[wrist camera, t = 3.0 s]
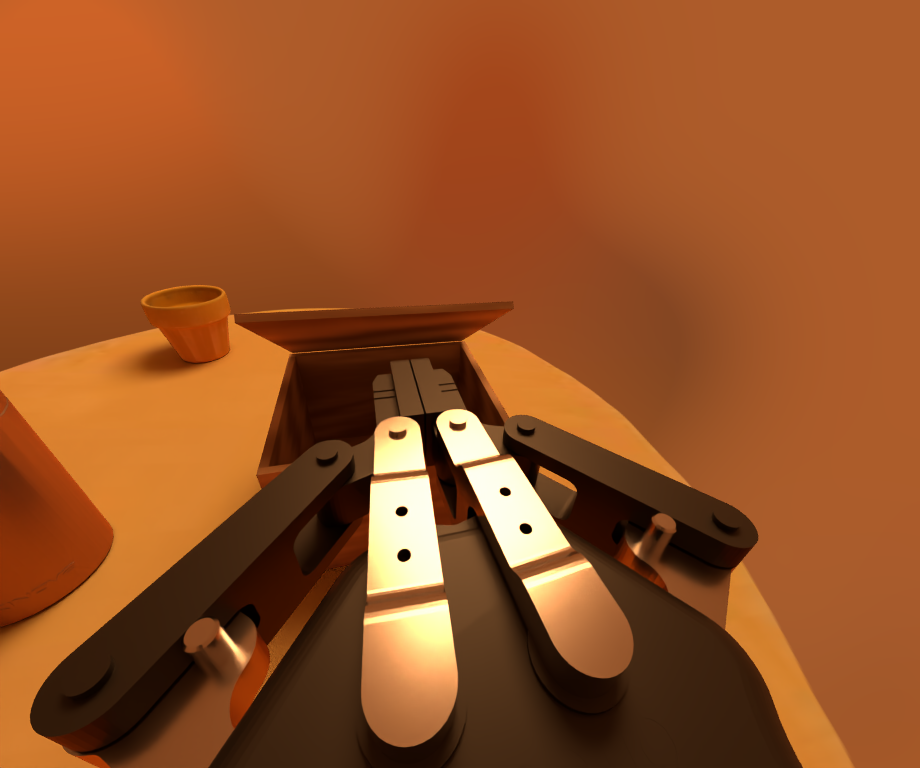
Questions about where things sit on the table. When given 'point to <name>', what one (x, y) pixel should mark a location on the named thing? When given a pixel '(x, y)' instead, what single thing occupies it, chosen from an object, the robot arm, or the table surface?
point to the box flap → (372, 325)
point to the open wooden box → (360, 410)
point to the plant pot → (191, 320)
